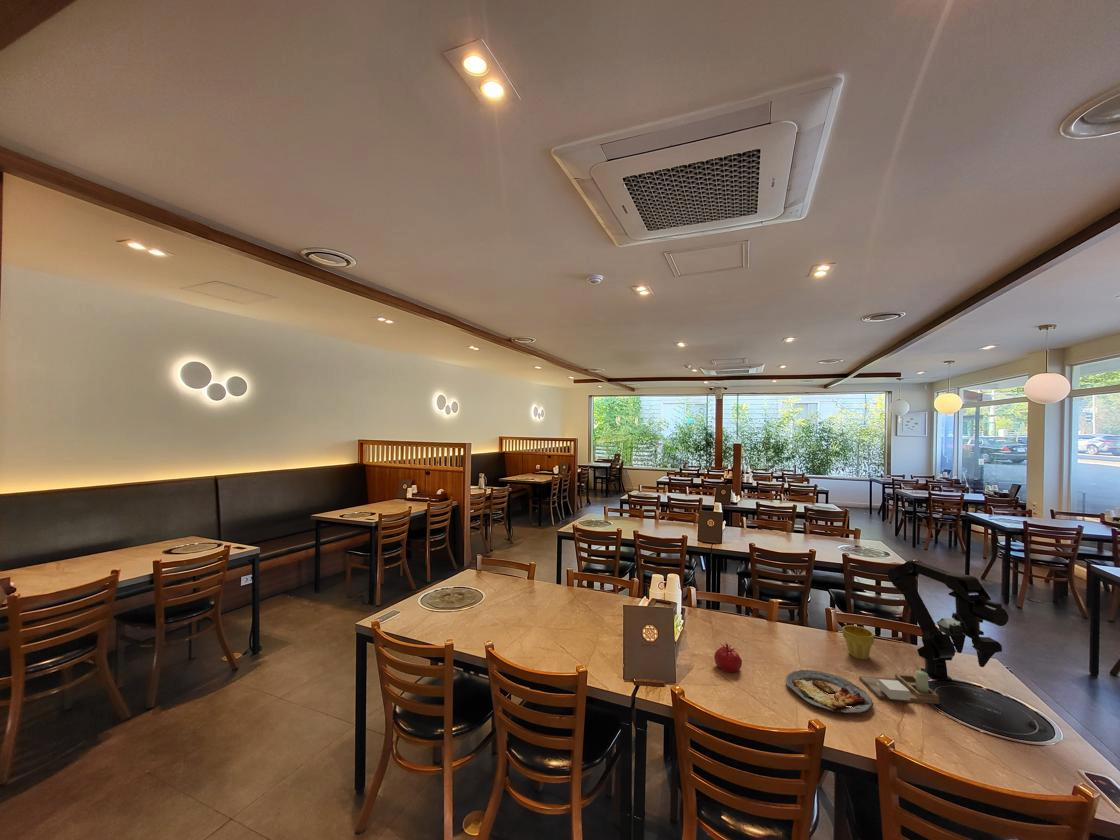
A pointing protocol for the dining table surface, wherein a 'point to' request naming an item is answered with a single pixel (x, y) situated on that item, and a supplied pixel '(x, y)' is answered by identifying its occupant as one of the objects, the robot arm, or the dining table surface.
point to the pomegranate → (728, 659)
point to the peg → (921, 682)
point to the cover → (894, 689)
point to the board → (905, 680)
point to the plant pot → (858, 641)
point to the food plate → (829, 691)
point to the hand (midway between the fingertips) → (970, 659)
